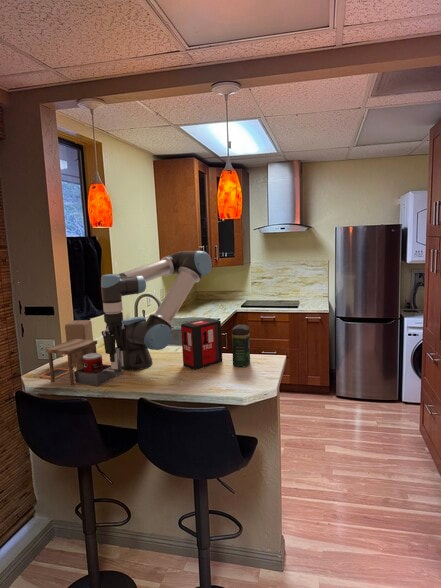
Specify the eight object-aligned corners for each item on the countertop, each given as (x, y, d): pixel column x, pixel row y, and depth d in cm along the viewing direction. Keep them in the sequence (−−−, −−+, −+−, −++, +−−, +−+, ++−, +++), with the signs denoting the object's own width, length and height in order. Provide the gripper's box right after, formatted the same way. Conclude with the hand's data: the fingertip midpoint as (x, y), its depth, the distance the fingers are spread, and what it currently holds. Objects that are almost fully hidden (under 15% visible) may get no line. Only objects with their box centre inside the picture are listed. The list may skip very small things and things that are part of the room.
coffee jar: (248, 368, 179) (247, 328, 176) (231, 367, 181) (229, 328, 178) (251, 361, 188) (250, 323, 185) (235, 361, 190) (233, 323, 187)
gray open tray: (75, 383, 169) (71, 348, 167) (94, 373, 180) (91, 341, 178) (113, 388, 161) (110, 352, 159) (131, 378, 172) (128, 344, 170)
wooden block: (95, 357, 205) (92, 319, 202) (87, 363, 195) (83, 324, 192) (76, 357, 206) (73, 320, 203) (67, 364, 196) (63, 324, 193)
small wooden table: (49, 382, 172) (45, 348, 169) (77, 369, 187) (74, 338, 185) (72, 386, 166) (69, 351, 164) (99, 372, 182) (97, 340, 180)
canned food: (88, 377, 176) (86, 353, 175) (106, 376, 176) (104, 352, 174) (82, 383, 169) (79, 358, 167) (100, 382, 169) (98, 357, 167)
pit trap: (74, 371, 185) (73, 369, 185) (55, 379, 175) (55, 378, 175) (57, 369, 189) (57, 367, 188) (38, 377, 179) (38, 375, 179)
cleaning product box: (210, 357, 197) (208, 318, 194) (222, 361, 190) (220, 320, 187) (183, 366, 186) (181, 324, 183) (195, 370, 179) (192, 327, 176)
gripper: (118, 308, 171) (122, 360, 175) (92, 315, 157) (97, 372, 161) (132, 308, 168) (136, 362, 172) (107, 316, 154) (112, 374, 157)
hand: (117, 367), depth 166 cm, fingers closed on gray open tray, 3 cm apart
